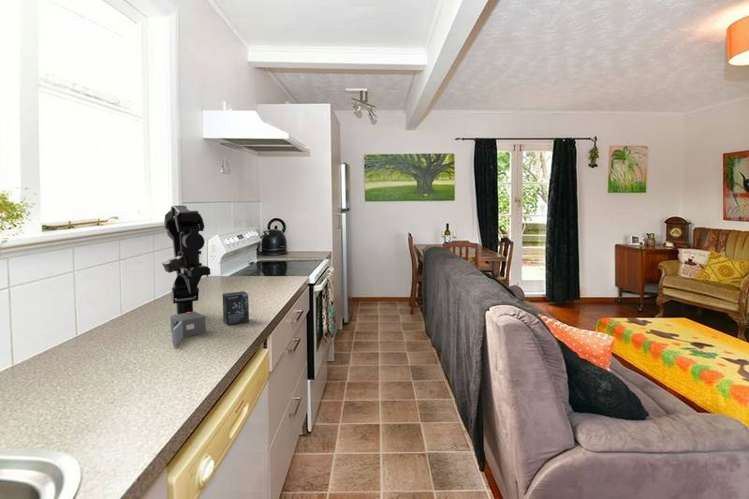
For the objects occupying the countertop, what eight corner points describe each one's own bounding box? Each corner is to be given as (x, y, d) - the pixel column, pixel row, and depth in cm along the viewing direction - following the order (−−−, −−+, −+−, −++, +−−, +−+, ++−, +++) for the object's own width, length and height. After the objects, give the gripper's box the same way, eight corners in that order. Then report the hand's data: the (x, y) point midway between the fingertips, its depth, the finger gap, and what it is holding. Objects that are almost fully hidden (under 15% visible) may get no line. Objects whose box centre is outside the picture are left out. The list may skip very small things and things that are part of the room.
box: (227, 325, 150) (226, 296, 149) (223, 322, 155) (221, 293, 154) (249, 322, 154) (248, 293, 153) (244, 318, 159) (243, 290, 158)
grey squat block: (167, 332, 142) (166, 315, 141) (195, 326, 149) (194, 310, 148) (176, 338, 136) (175, 320, 135) (206, 332, 142) (205, 315, 141)
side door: (183, 337, 136) (182, 321, 136) (175, 346, 128) (175, 329, 127) (180, 337, 136) (179, 321, 136) (172, 346, 128) (171, 329, 127)
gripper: (155, 247, 145) (157, 293, 147) (174, 252, 132) (177, 302, 134) (188, 245, 153) (190, 288, 155) (210, 249, 139) (212, 296, 141)
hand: (192, 293), depth 146 cm, fingers closed
